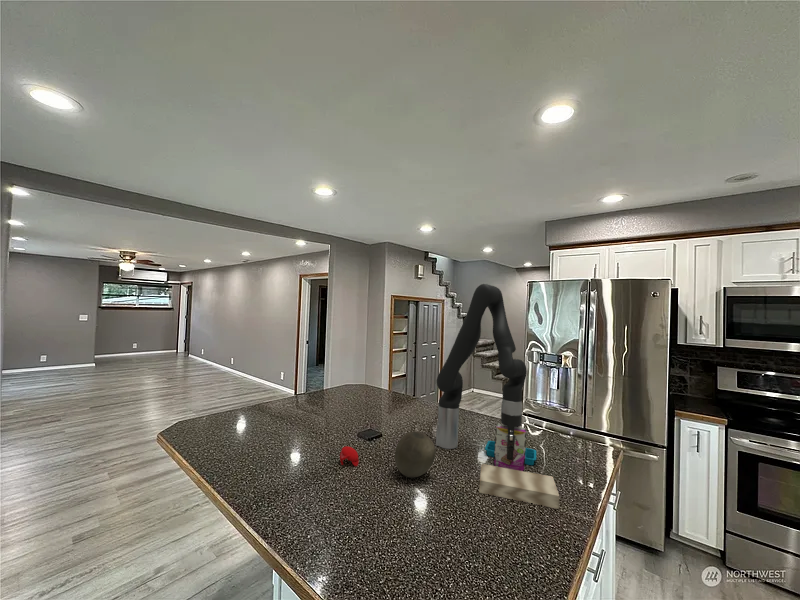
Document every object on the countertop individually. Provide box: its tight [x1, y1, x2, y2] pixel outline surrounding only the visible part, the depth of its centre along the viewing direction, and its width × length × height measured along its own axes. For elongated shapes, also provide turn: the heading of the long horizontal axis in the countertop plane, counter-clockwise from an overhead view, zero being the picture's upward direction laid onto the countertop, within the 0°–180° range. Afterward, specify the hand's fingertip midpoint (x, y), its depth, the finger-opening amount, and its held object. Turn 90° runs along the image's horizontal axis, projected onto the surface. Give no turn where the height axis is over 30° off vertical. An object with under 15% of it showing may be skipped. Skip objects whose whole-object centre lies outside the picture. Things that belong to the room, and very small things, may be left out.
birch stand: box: [478, 463, 560, 510], centre depth 110 cm, size 24×13×4 cm, turn 73°
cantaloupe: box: [394, 430, 437, 479], centre depth 117 cm, size 14×14×15 cm
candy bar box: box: [493, 423, 527, 472], centre depth 125 cm, size 11×5×16 cm, turn 71°
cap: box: [339, 445, 360, 467], centre depth 123 cm, size 8×6×6 cm
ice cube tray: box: [484, 440, 537, 466], centre depth 138 cm, size 12×20×3 cm, turn 67°
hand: (509, 456), depth 124 cm, fingers closed on candy bar box, 5 cm apart
